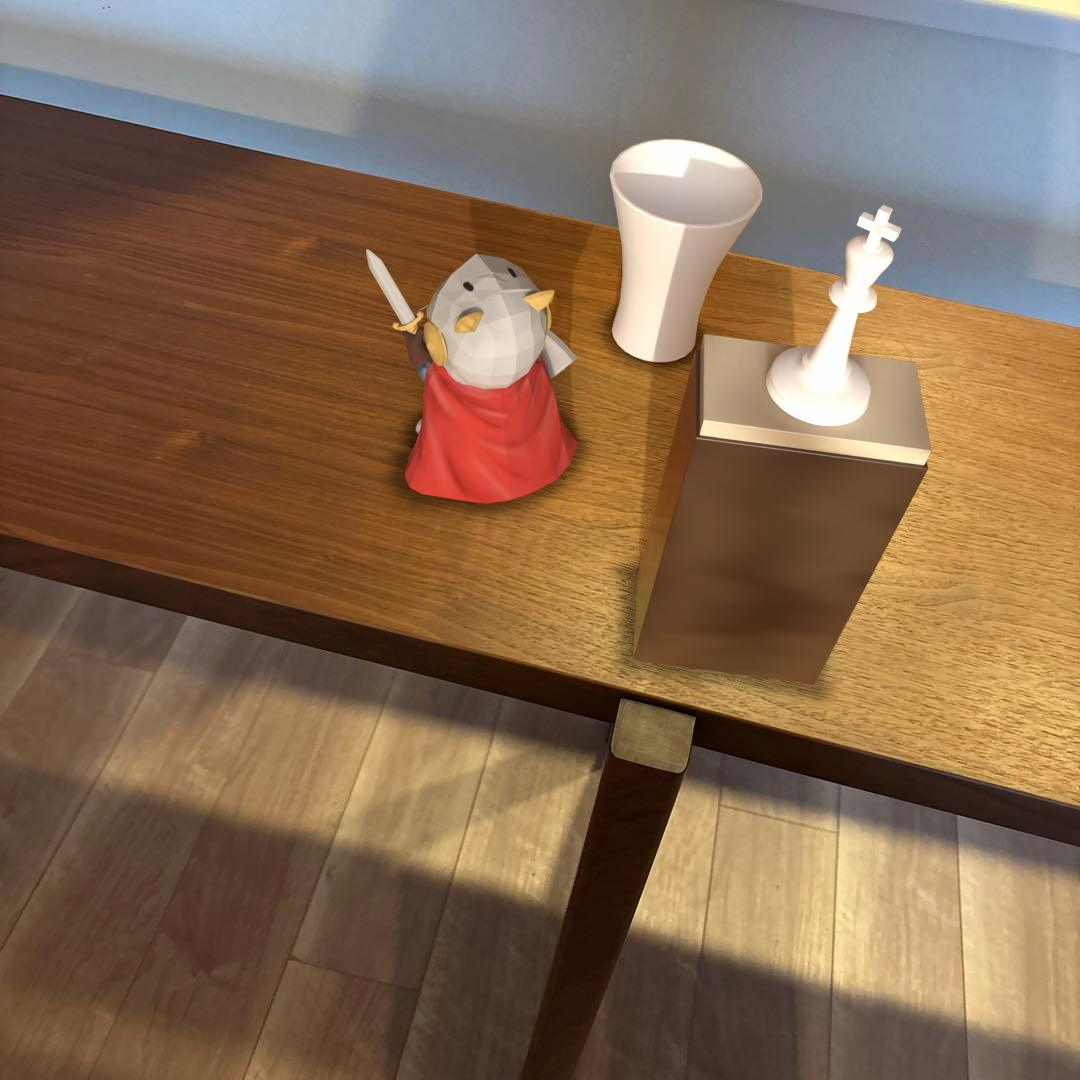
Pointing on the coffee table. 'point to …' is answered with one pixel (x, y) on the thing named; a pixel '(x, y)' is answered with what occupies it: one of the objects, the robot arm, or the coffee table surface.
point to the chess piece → (836, 338)
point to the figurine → (484, 383)
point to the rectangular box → (772, 516)
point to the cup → (674, 238)
